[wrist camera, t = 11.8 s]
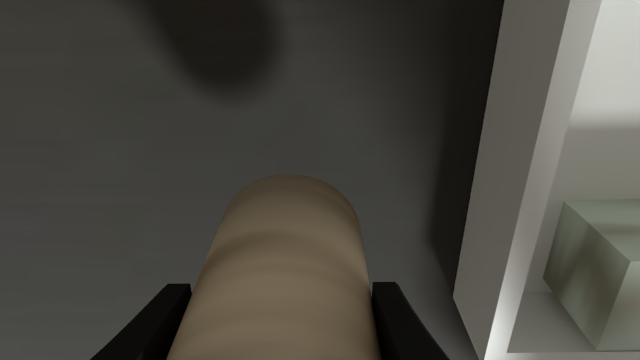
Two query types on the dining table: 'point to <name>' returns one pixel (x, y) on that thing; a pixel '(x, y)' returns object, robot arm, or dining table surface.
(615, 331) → the sage cube
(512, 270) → the box
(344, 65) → the dining table surface
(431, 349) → the robot arm
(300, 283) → the wooden cylinder
